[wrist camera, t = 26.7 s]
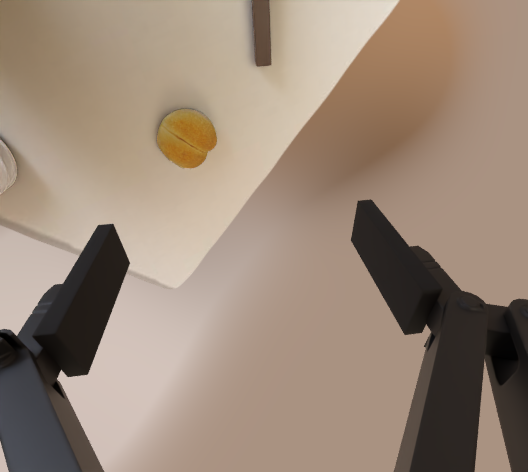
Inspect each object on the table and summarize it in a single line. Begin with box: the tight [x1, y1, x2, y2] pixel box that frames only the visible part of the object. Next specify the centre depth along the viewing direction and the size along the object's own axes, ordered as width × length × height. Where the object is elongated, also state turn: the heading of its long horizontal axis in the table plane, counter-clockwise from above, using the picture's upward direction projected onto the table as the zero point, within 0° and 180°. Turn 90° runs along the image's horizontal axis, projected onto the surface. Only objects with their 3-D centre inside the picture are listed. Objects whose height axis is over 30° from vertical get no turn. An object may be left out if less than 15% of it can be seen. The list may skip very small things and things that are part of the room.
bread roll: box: [157, 109, 217, 168], centre depth 45 cm, size 8×9×4 cm
